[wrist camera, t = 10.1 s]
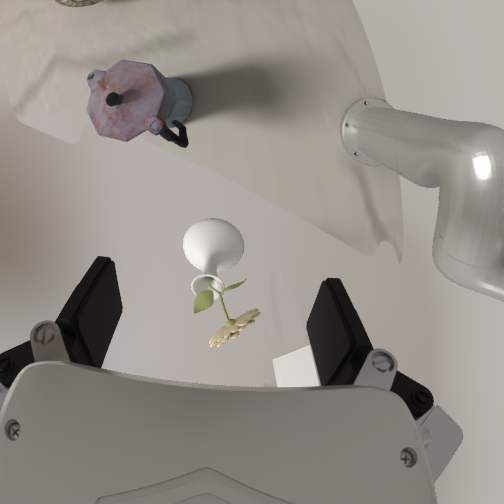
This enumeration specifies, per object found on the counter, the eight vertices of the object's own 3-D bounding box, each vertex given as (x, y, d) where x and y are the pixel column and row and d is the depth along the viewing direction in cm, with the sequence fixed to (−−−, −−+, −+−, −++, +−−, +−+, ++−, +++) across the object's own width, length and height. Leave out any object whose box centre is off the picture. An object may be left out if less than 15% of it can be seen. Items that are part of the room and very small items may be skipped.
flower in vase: (198, 272, 55) (181, 377, 34) (174, 225, 49) (136, 324, 28) (259, 255, 54) (273, 360, 32) (241, 203, 48) (246, 298, 27)
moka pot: (151, 58, 33) (94, 36, 16) (224, 105, 39) (215, 107, 22) (119, 104, 36) (50, 115, 19) (189, 150, 42) (157, 186, 25)
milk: (272, 359, 72) (283, 443, 50) (309, 344, 70) (330, 430, 47) (289, 376, 78) (301, 451, 56) (323, 363, 75) (343, 439, 53)
